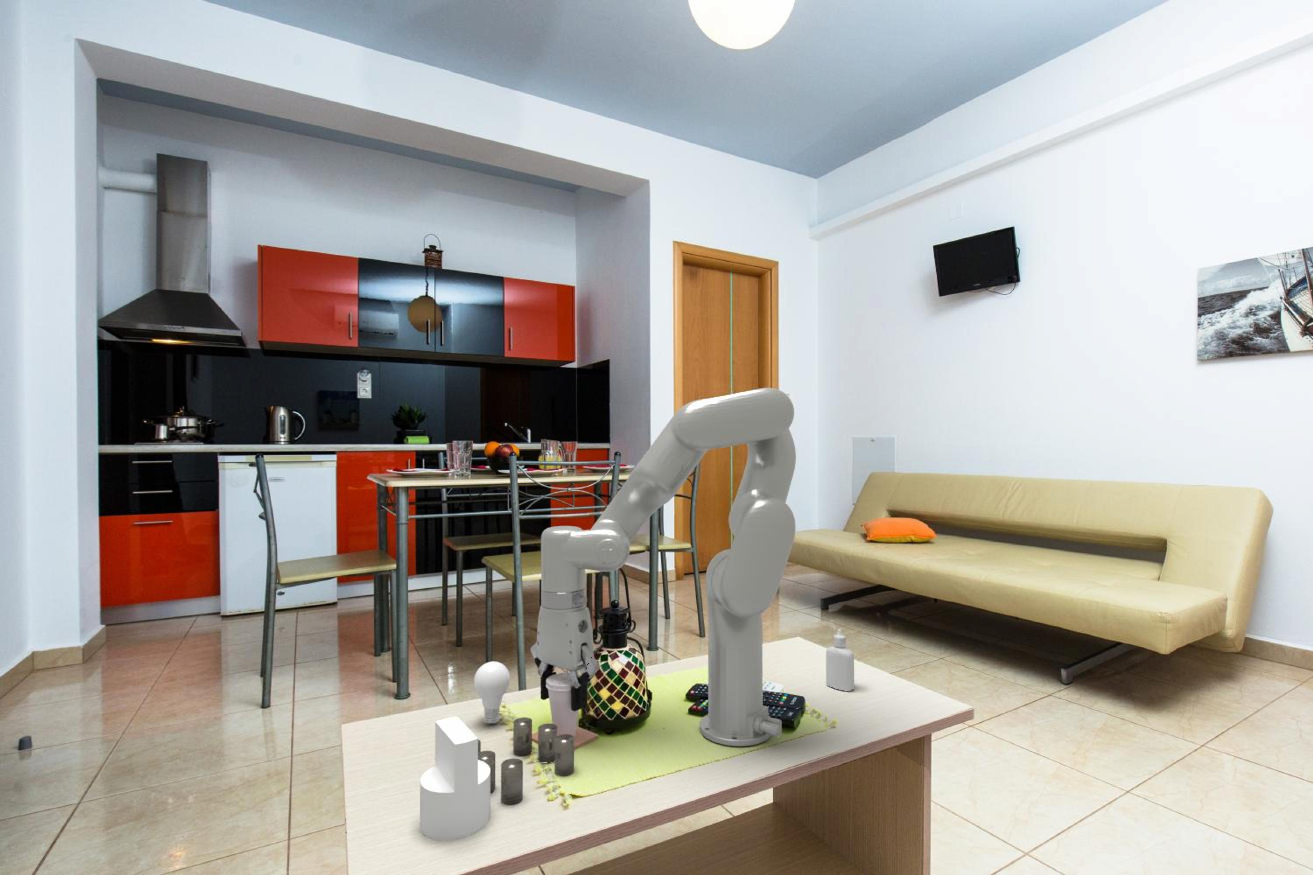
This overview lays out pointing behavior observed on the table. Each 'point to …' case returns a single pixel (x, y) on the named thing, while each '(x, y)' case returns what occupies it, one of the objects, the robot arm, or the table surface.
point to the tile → (576, 737)
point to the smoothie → (562, 703)
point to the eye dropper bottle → (840, 664)
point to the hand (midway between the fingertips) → (563, 701)
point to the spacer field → (548, 752)
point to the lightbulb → (491, 688)
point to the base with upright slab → (454, 785)
